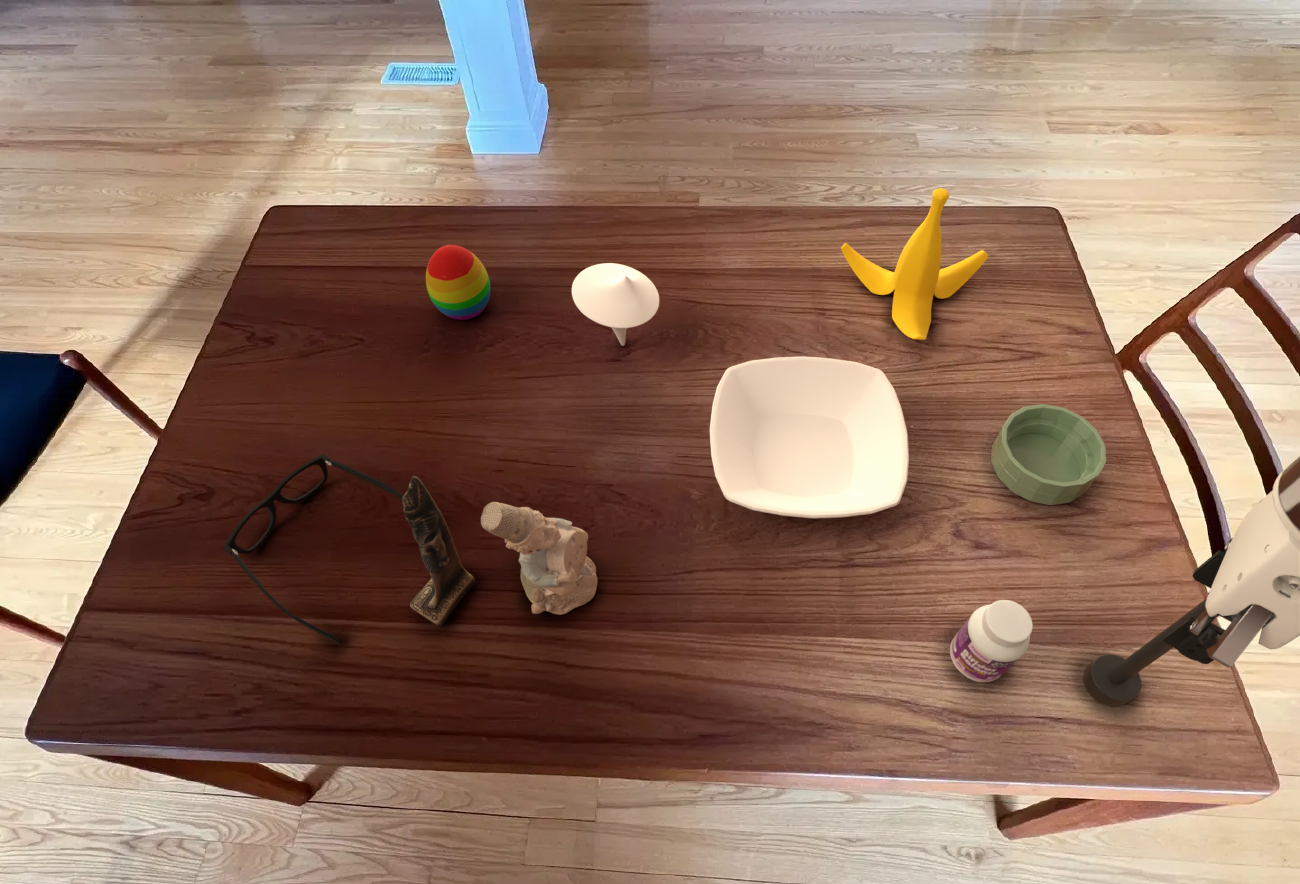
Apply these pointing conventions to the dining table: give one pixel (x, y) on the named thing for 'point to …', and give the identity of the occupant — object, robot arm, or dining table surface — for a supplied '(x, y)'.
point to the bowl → (809, 438)
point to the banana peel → (917, 273)
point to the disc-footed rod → (1127, 668)
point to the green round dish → (1048, 454)
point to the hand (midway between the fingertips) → (1200, 616)
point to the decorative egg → (457, 282)
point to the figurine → (545, 556)
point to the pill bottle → (991, 640)
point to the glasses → (270, 506)
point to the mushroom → (615, 297)
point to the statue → (435, 556)
